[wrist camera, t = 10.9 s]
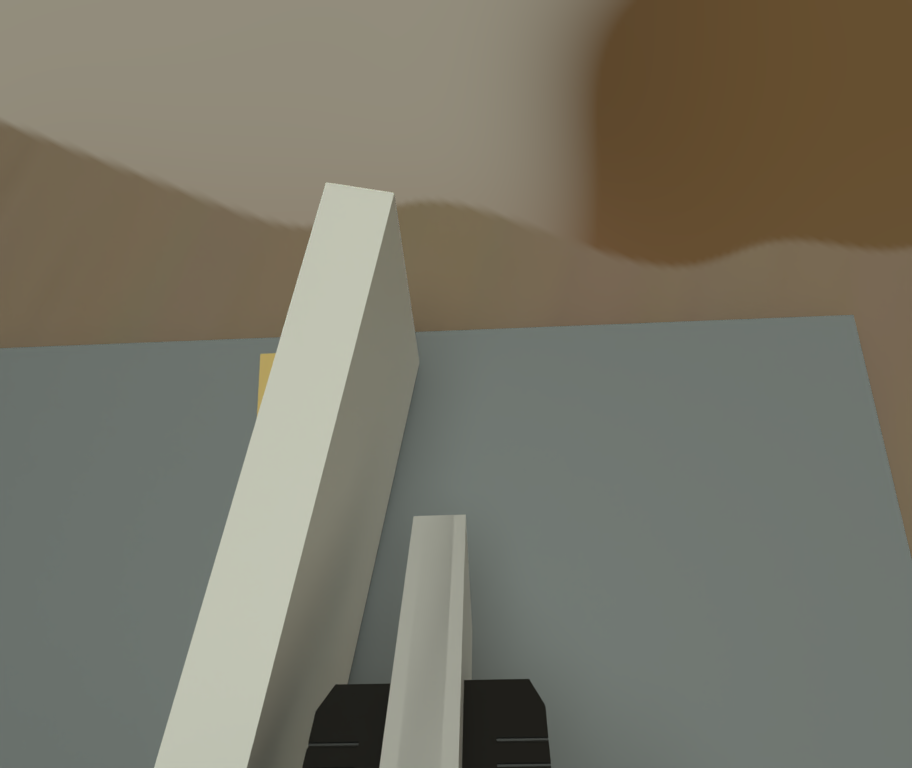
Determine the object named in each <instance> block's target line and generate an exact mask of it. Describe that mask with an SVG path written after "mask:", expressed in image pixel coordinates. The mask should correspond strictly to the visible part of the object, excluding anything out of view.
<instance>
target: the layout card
mask: <svg viewBox="0 0 912 768" xmlns="http://www.w3.org/2000/svg"><path fill="white" fill-rule="evenodd" d="M415 335H416V342H417V349H418V356H419V367H418V371H417V375H416V380H415V384H414V389H413V393H412V398H411V402H410V407H409V411H408V416H407V420H406V425H405V429H404V434H403V438H402V443H401V447H400V452H399V456H398V460H397V465H396V469H395V474H394V478H393V483H392V487H391V492H390V496H389V501H388V505H387V510H386V514H385V519H384V523H383V528H382V532H381V537H380V541H379V546H378V550H377V554H376V559H375V563H374V568H373V572H372V577H371V581H370V586H369V590H368V595H367V599H366V604H365V608H364V613H363V617H362V622H361V626H360V631H359V635H358V639H357V644H356V648H355V653H354V657H353V662H352V666H351V671H350V675H349V680H348V684H390V683H391V678H392V671H393V663H394V656H395V649H396V641H397V634H398V627H399V619H400V612H401V605H402V597H403V590H404V583H405V575H406V568H407V561H408V553H409V546H410V539H411V531H412V524H413V517H414V516H432V515H466V527H467V544H468V562H469V580H470V598H471V615H472V680H492V679H530V681H531V683H532V684H533V686H534V688H535V689H536V691H537V692H538V694H539V696H540V697H541V699H542V701H543V702H544V704H545V707H546V717H547V727H548V740H549V748H550V759H551V768H912V559H911V555H910V550H909V546H908V542H907V538H906V534H905V530H904V525H903V521H902V517H901V513H900V509H899V504H898V500H897V496H896V492H895V488H894V483H893V479H892V475H891V471H890V467H889V462H888V458H887V454H886V450H885V446H884V441H883V437H882V433H881V429H880V425H879V420H878V416H877V412H876V408H875V404H874V399H873V395H872V391H871V387H870V383H869V378H868V374H867V370H866V366H865V362H864V357H863V353H862V349H861V345H860V341H859V337H858V332H857V328H856V324H855V320H854V316H853V315H841V316H815V317H790V318H764V319H739V320H713V321H688V322H662V323H636V324H611V325H585V326H560V327H534V328H508V329H483V330H457V331H432V332H415ZM279 341H280V337H278V338H253V339H227V340H202V341H176V342H150V343H125V344H99V345H74V346H48V347H22V348H0V768H154V766H155V763H156V759H157V756H158V753H159V749H160V746H161V742H162V739H163V735H164V732H165V729H166V725H167V722H168V718H169V715H170V712H171V708H172V705H173V701H174V698H175V695H176V691H177V688H178V684H179V681H180V678H181V674H182V671H183V667H184V664H185V661H186V657H187V654H188V650H189V647H190V644H191V640H192V637H193V633H194V630H195V627H196V623H197V620H198V616H199V613H200V610H201V606H202V603H203V599H204V596H205V593H206V589H207V586H208V582H209V579H210V576H211V572H212V569H213V565H214V562H215V559H216V555H217V552H218V548H219V545H220V542H221V538H222V535H223V531H224V528H225V525H226V521H227V518H228V514H229V511H230V507H231V504H232V501H233V497H234V494H235V490H236V487H237V484H238V480H239V477H240V473H241V470H242V467H243V463H244V460H245V456H246V453H247V450H248V446H249V443H250V439H251V436H252V433H253V429H254V426H255V422H256V419H257V416H258V412H259V409H260V405H261V402H262V399H263V395H264V392H265V388H266V385H267V382H268V378H269V375H270V371H271V368H272V365H273V361H274V358H275V354H276V351H277V348H278V344H279Z"/></svg>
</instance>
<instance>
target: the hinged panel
mask: <svg viewBox="0 0 912 768" xmlns="http://www.w3.org/2000/svg"><path fill="white" fill-rule="evenodd" d="M418 367H419V356H418V349H417V342H416V335H415V329H414V322H413V315H412V309H411V302H410V295H409V288H408V282H407V275H406V268H405V262H404V255H403V248H402V241H401V235H400V228H399V221H398V215H397V208H396V201H395V195H394V193H392V192H386V191H379V190H373V189H366V188H359V187H352V186H347V185H340V184H334V183H326V184H325V188H324V191H323V194H322V198H321V201H320V205H319V208H318V211H317V215H316V218H315V222H314V225H313V228H312V232H311V235H310V239H309V242H308V245H307V249H306V252H305V256H304V259H303V262H302V266H301V269H300V273H299V276H298V280H297V283H296V286H295V290H294V293H293V297H292V300H291V303H290V307H289V310H288V314H287V317H286V320H285V324H284V327H283V331H282V334H281V337H280V341H279V344H278V348H277V351H276V354H275V358H274V361H273V365H272V368H271V371H270V375H269V378H268V382H267V385H266V388H265V392H264V395H263V399H262V402H261V405H260V409H259V412H258V416H257V419H256V422H255V426H254V429H253V433H252V436H251V439H250V443H249V446H248V450H247V453H246V456H245V460H244V463H243V467H242V470H241V473H240V477H239V480H238V484H237V487H236V490H235V494H234V497H233V501H232V504H231V507H230V511H229V514H228V518H227V521H226V525H225V528H224V531H223V535H222V538H221V542H220V545H219V548H218V552H217V555H216V559H215V562H214V565H213V569H212V572H211V576H210V579H209V582H208V586H207V589H206V593H205V596H204V599H203V603H202V606H201V610H200V613H199V616H198V620H197V623H196V627H195V630H194V633H193V637H192V640H191V644H190V647H189V650H188V654H187V657H186V661H185V664H184V667H183V671H182V674H181V678H180V681H179V684H178V688H177V691H176V695H175V698H174V701H173V705H172V708H171V712H170V715H169V718H168V722H167V725H166V729H165V732H164V735H163V739H162V742H161V746H160V749H159V753H158V756H157V759H156V763H155V766H154V768H302V766H303V762H304V758H305V754H306V749H307V748H308V741H309V737H310V733H311V729H312V724H313V720H314V716H315V712H316V710H317V709H318V707H319V706H320V705H321V703H322V702H323V701H324V699H325V698H326V697H327V695H328V694H329V692H330V691H331V690H332V688H333V687H334V686H335V684H348V680H349V675H350V671H351V666H352V662H353V657H354V653H355V648H356V644H357V639H358V635H359V631H360V626H361V622H362V617H363V613H364V608H365V604H366V599H367V595H368V590H369V586H370V581H371V577H372V572H373V568H374V563H375V559H376V554H377V550H378V546H379V541H380V537H381V532H382V528H383V523H384V519H385V514H386V510H387V505H388V501H389V496H390V492H391V487H392V483H393V478H394V474H395V469H396V465H397V460H398V456H399V452H400V447H401V443H402V438H403V434H404V429H405V425H406V420H407V416H408V411H409V407H410V402H411V398H412V393H413V389H414V384H415V380H416V375H417V371H418Z"/></svg>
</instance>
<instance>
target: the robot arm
mask: <svg viewBox="0 0 912 768" xmlns="http://www.w3.org/2000/svg"><path fill="white" fill-rule="evenodd" d="M302 768H551V759H550V748H549V740H548V727H547V717H546V707H545V704H544V702H543V701H542V699H541V697H540V696H539V694H538V692H537V691H536V689H535V688H534V686H533V684H532V683H531V681H530V679H492V680H472V615H471V598H470V580H469V562H468V544H467V527H466V515H432V516H414V517H413V524H412V531H411V539H410V546H409V553H408V561H407V568H406V575H405V583H404V590H403V597H402V605H401V612H400V619H399V627H398V634H397V641H396V649H395V656H394V663H393V671H392V678H391V683H390V684H335V686H334V687H333V688H332V690H331V691H330V692H329V694H328V695H327V697H326V698H325V699H324V701H323V702H322V703H321V705H320V706H319V707H318V709H317V710H316V712H315V716H314V720H313V724H312V729H311V733H310V737H309V741H308V748H307V749H306V754H305V758H304V762H303V766H302Z"/></svg>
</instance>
